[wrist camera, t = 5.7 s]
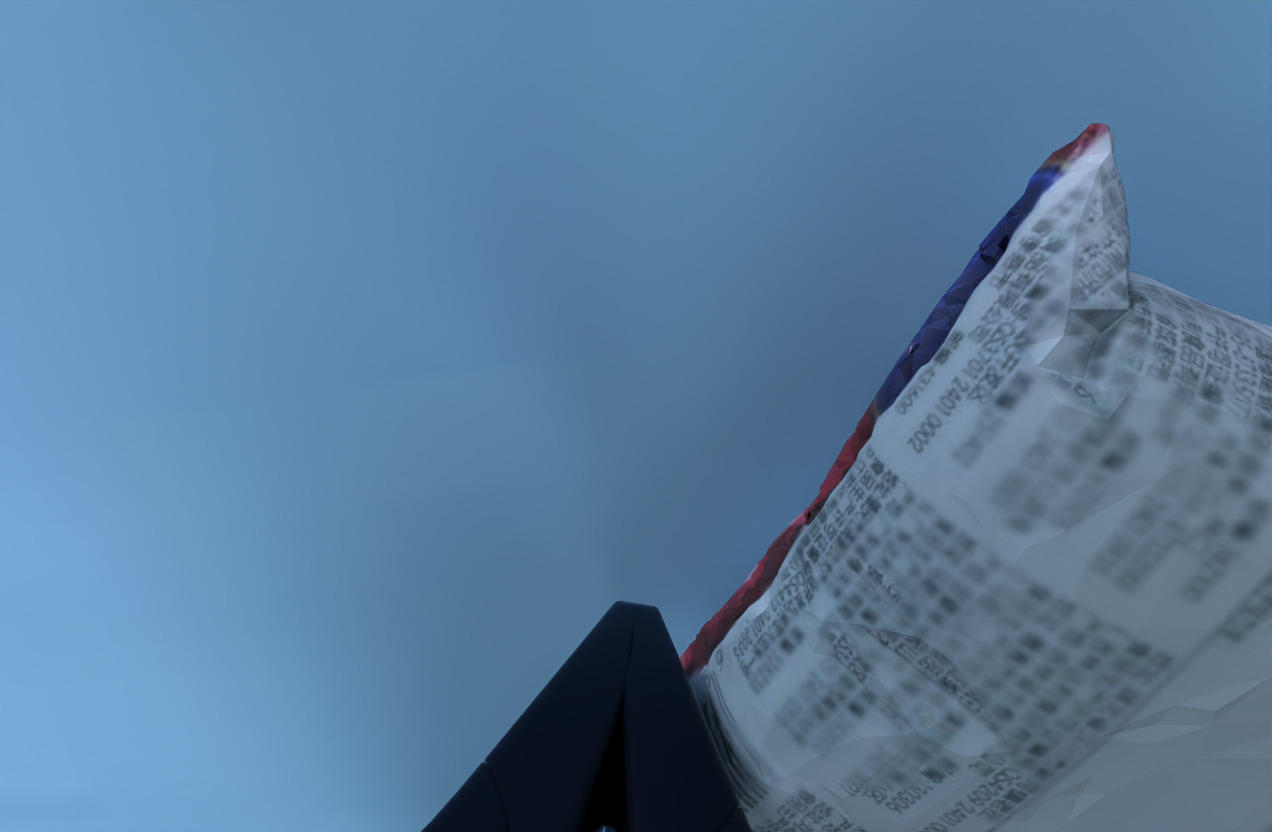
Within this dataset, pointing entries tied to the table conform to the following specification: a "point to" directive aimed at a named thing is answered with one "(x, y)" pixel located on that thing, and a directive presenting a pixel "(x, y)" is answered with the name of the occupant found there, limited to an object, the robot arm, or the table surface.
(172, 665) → the table surface
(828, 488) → the packaged food
